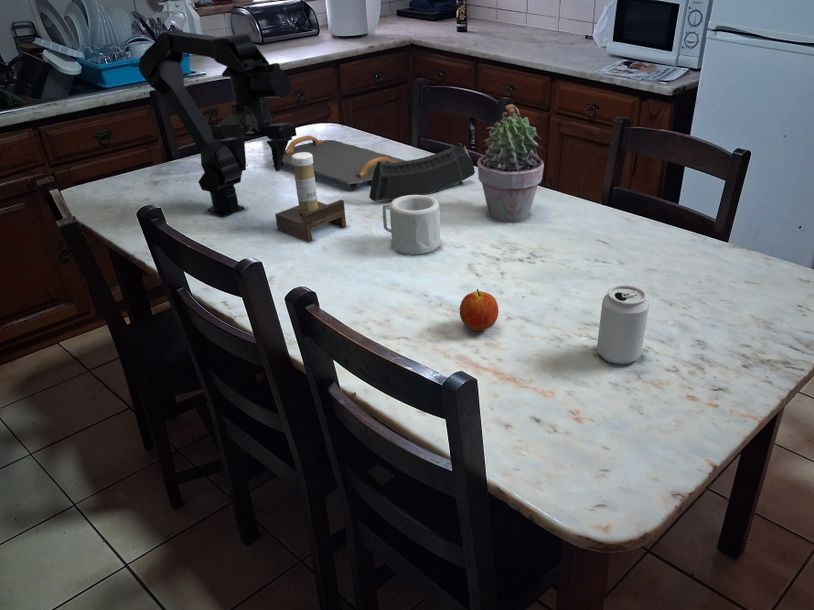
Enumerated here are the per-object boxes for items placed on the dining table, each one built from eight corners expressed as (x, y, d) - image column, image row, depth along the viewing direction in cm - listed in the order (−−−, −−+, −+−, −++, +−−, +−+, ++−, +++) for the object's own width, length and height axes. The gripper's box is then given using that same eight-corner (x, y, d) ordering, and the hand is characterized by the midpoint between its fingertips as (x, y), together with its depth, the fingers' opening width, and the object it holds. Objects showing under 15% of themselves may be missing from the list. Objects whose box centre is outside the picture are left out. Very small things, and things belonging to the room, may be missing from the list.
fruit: (501, 320, 129) (502, 282, 125) (493, 340, 124) (495, 300, 119) (464, 316, 131) (464, 277, 126) (455, 335, 125) (455, 295, 120)
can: (591, 343, 123) (598, 282, 116) (633, 341, 123) (643, 281, 117) (602, 368, 116) (610, 305, 110) (646, 365, 117) (657, 303, 110)
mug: (448, 240, 159) (447, 198, 153) (426, 259, 151) (424, 215, 145) (396, 230, 164) (394, 188, 158) (372, 247, 155) (368, 205, 150)
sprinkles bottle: (316, 207, 165) (309, 150, 158) (321, 213, 161) (314, 156, 154) (296, 210, 163) (289, 153, 156) (301, 217, 160) (294, 159, 152)
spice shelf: (277, 230, 164) (273, 203, 160) (315, 215, 171) (312, 189, 168) (308, 242, 158) (305, 215, 154) (346, 226, 165) (343, 200, 162)
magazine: (363, 173, 170) (462, 119, 178) (357, 169, 172) (455, 116, 181) (385, 231, 181) (477, 178, 190) (379, 227, 183) (470, 174, 192)
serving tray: (264, 165, 202) (261, 143, 199) (326, 146, 217) (323, 126, 214) (357, 196, 182) (355, 172, 178) (417, 173, 197) (416, 151, 193)
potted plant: (494, 237, 160) (497, 127, 146) (459, 208, 175) (459, 105, 161) (562, 225, 166) (571, 118, 153) (523, 197, 181) (528, 98, 168)
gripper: (188, 103, 149) (203, 177, 156) (261, 101, 143) (274, 179, 149) (221, 97, 158) (235, 167, 165) (292, 95, 152) (303, 168, 159)
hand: (260, 170), depth 159 cm, fingers open, 9 cm apart
